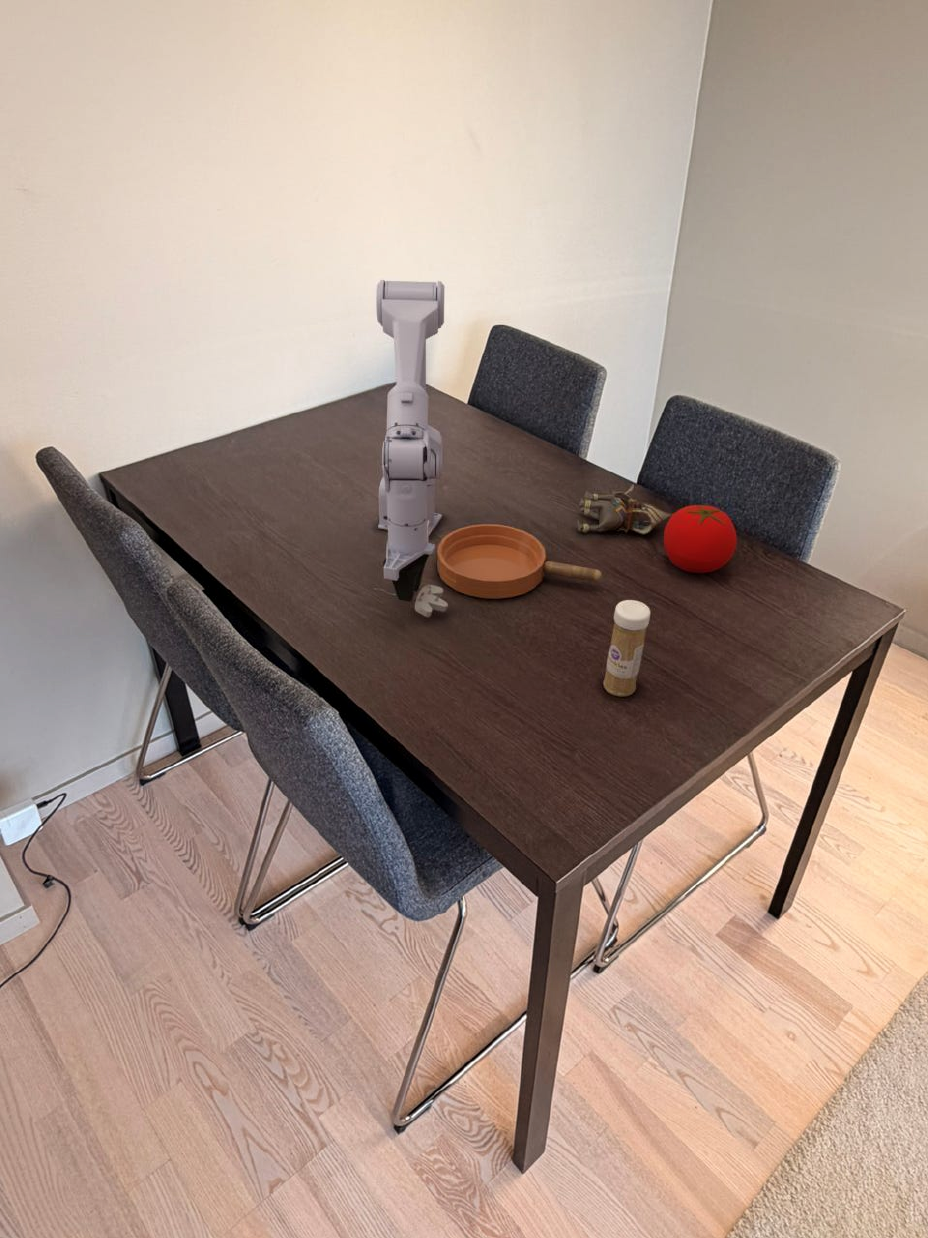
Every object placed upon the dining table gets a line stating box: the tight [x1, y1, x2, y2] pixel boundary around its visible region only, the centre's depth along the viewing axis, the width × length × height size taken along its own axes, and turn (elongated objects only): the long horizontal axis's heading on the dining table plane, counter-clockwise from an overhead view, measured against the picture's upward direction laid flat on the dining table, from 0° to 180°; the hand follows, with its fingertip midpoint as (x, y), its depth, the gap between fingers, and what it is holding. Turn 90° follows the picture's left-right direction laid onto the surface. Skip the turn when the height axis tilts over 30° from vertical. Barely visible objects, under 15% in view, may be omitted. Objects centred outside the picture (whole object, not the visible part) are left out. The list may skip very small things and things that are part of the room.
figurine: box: [576, 484, 675, 535], centre depth 155 cm, size 20×6×17 cm
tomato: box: [663, 503, 738, 574], centre depth 144 cm, size 11×12×10 cm
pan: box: [436, 523, 547, 600], centre depth 143 cm, size 18×18×4 cm
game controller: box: [373, 584, 449, 618], centre depth 132 cm, size 6×12×3 cm, turn 89°
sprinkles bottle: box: [602, 599, 651, 698], centre depth 117 cm, size 5×5×14 cm
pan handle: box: [543, 560, 603, 583], centre depth 140 cm, size 10×2×2 cm, turn 73°
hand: (408, 594), depth 133 cm, fingers closed on game controller, 2 cm apart
